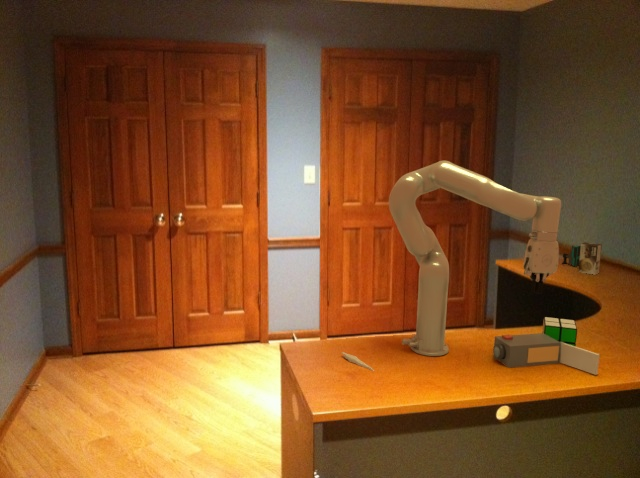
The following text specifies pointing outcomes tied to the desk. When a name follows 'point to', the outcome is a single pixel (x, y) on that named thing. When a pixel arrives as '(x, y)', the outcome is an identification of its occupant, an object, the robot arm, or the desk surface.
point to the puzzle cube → (560, 330)
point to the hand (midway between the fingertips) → (536, 292)
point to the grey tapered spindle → (356, 360)
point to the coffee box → (590, 258)
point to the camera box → (526, 350)
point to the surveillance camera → (573, 256)
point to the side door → (579, 358)
